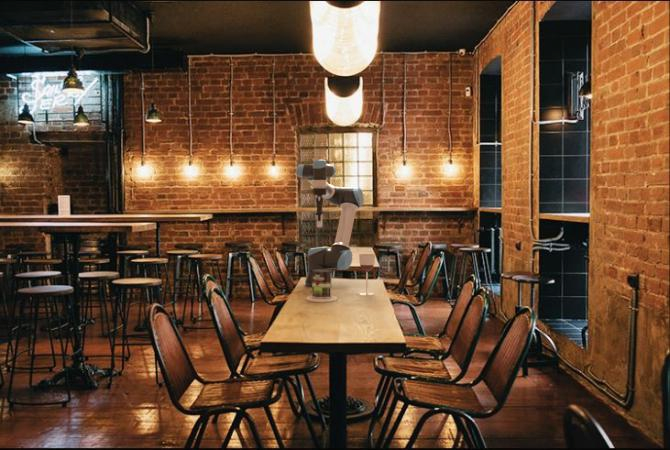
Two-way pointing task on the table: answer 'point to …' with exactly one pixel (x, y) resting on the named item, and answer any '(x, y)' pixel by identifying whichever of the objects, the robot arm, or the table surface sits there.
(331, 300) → the plate
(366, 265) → the wineglass
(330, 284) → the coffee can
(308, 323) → the table surface
